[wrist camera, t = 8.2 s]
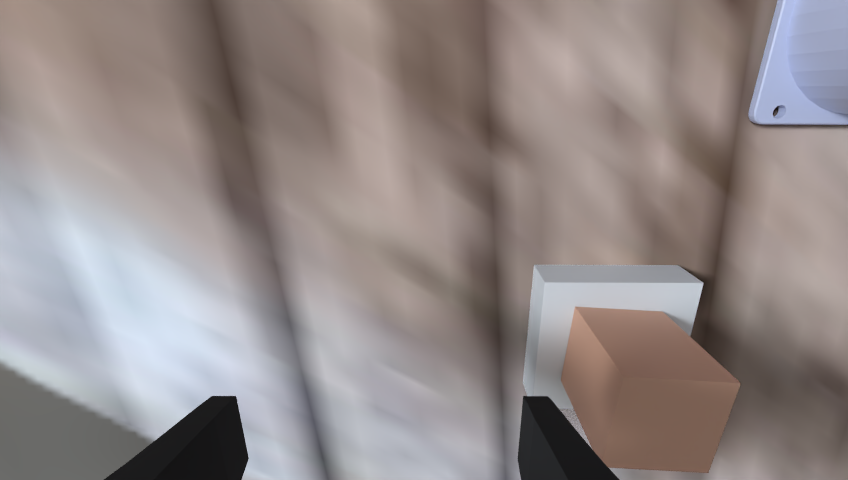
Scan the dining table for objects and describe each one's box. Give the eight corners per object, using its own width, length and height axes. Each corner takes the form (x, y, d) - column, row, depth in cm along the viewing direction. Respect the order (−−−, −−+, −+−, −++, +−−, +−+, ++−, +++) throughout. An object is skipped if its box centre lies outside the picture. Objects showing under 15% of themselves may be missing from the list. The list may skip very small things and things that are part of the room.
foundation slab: (672, 261, 21) (703, 282, 18) (647, 377, 23) (672, 409, 21) (531, 260, 21) (544, 282, 18) (521, 376, 23) (531, 408, 21)
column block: (662, 311, 19) (741, 383, 14) (642, 384, 20) (708, 473, 15) (574, 306, 19) (623, 376, 14) (560, 380, 20) (600, 467, 15)
